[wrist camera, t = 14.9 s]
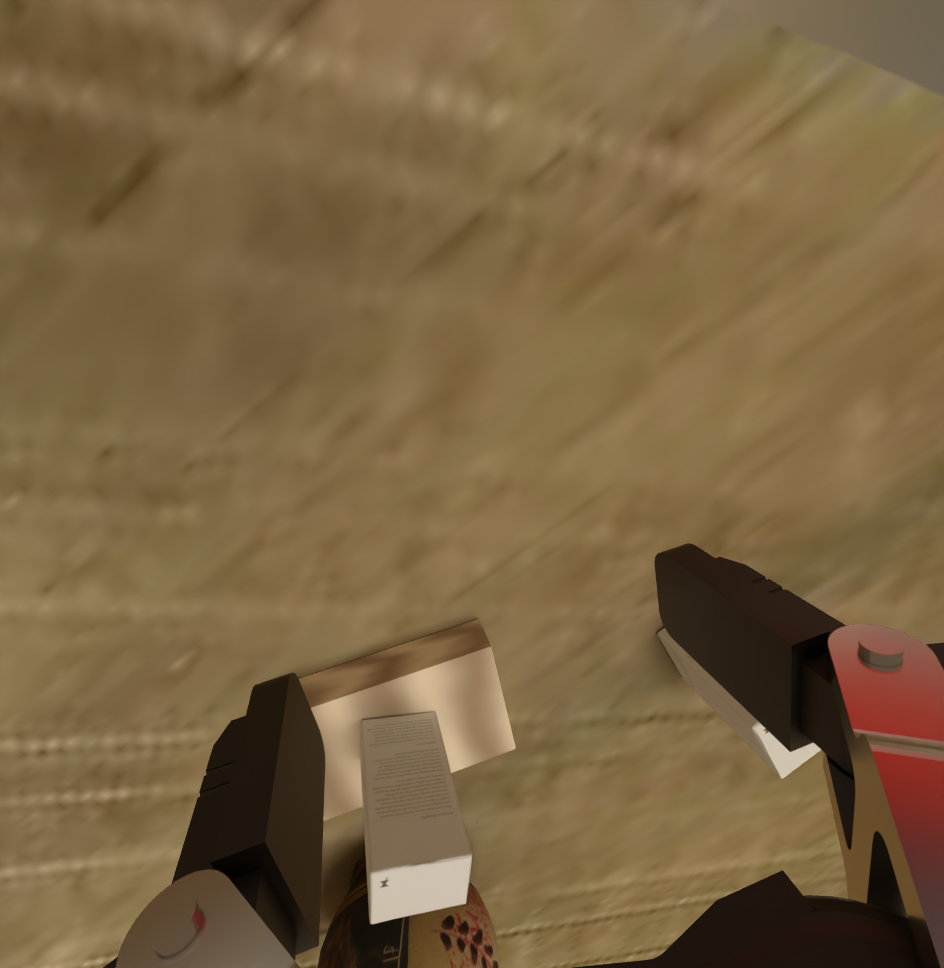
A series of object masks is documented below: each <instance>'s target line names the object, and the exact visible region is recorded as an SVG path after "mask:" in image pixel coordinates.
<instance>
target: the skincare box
mask: <svg viewBox="0 0 944 968" xmlns="http://www.w3.org/2000/svg"><path fill="white" fill-rule="evenodd" d="M360 766H361V785H362V802H363V818H364V835H365V853H366V870H367V887H368V905H369V920H370V924H376V923H380V922H384V921H388V920H392V919H396V918H401V917H406V916H410V915H415V914H420V913H425V912H429V911H434V910H439V909H443V908H448V907H452V906H457V905H462V904H466V901H467V893H468V885H469V878H470V870H471V862H472V851H471V847H470V844H469V840H468V837H467V833H466V829H465V825H464V821H463V818H462V813H461V810H460V806H459V802H458V798H457V794H456V790H455V786H454V782H453V778H452V774H451V770H450V766H449V762H448V758H447V754H446V750H445V746H444V742H443V738H442V734H441V730H440V726H439V722H438V718H437V715H436V713H435V712H430V713H422V714H414V715H404V716H396V717H387V718H378V719H369V720H362V722H361V744H360Z"/></svg>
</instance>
